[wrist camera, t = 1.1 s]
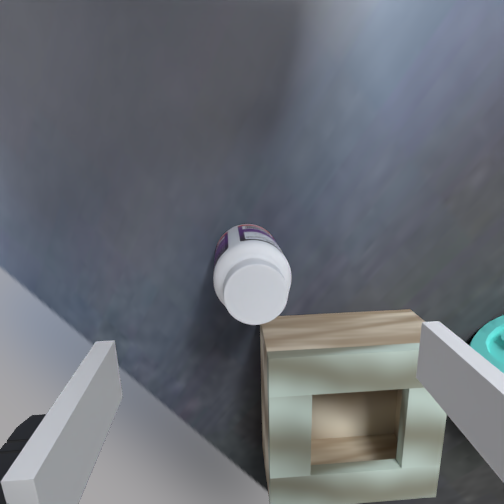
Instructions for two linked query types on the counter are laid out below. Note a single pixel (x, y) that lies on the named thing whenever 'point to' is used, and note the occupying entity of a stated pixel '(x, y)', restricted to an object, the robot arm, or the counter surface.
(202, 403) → the counter surface
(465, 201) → the counter surface
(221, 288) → the pill bottle
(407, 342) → the grey hollow square block
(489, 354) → the engraved teal number block
